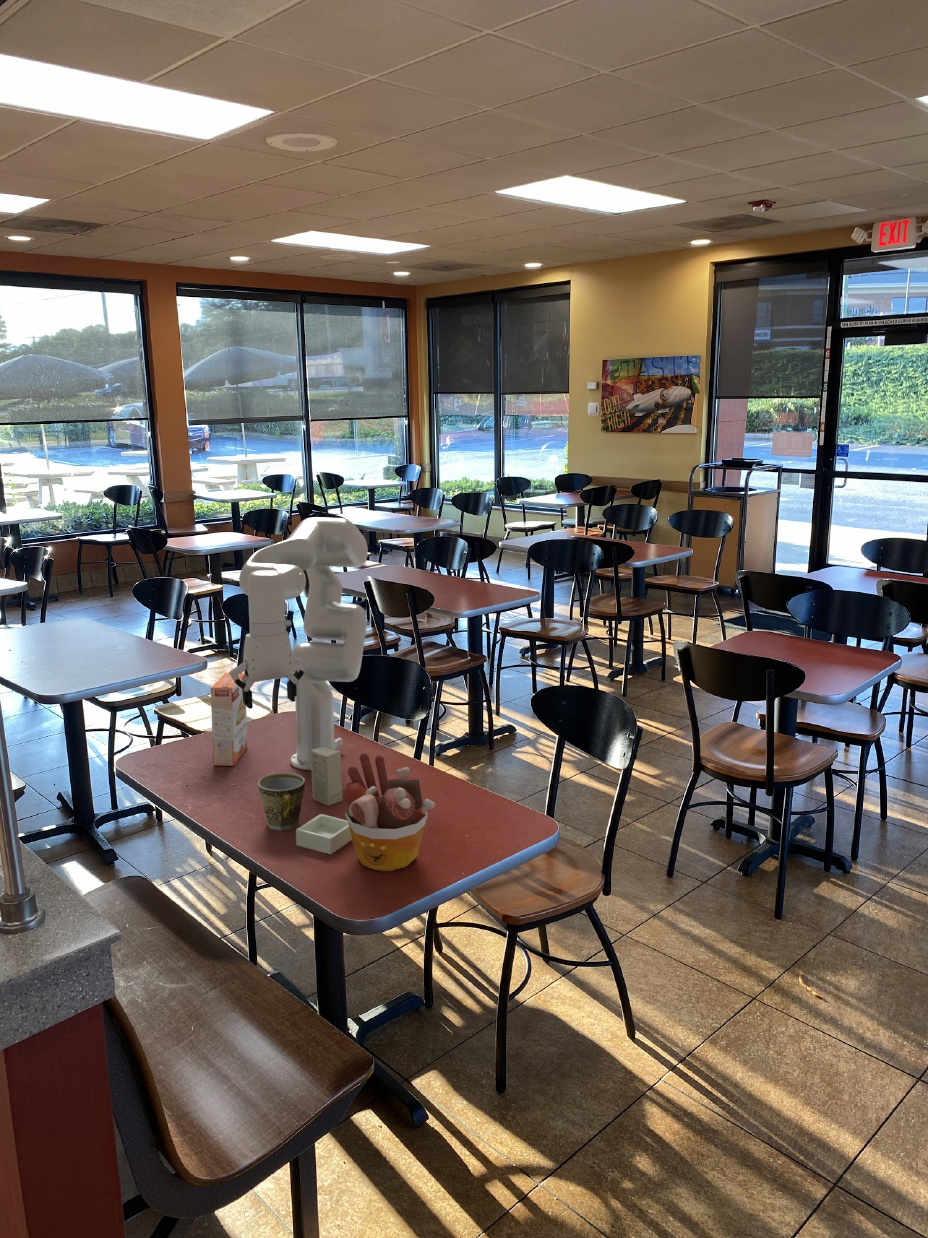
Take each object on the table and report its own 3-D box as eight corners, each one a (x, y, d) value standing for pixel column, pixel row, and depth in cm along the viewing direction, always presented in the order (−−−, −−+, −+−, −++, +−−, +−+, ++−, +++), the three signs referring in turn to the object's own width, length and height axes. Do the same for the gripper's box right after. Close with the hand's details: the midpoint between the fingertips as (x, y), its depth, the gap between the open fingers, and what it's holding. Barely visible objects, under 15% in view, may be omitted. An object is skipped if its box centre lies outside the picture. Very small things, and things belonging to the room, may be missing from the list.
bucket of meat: (446, 868, 184) (447, 774, 179) (373, 890, 175) (372, 791, 171) (396, 830, 200) (396, 743, 196) (327, 848, 191) (325, 758, 187)
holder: (321, 829, 200) (321, 814, 199) (354, 837, 196) (354, 822, 195) (296, 845, 192) (296, 829, 192) (330, 854, 188) (330, 838, 188)
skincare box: (343, 801, 214) (342, 751, 212) (328, 806, 211) (327, 756, 209) (325, 793, 219) (325, 744, 216) (310, 798, 215) (309, 749, 213)
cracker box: (236, 767, 233) (233, 687, 229) (212, 766, 234) (208, 687, 229) (249, 747, 247) (246, 672, 243) (226, 747, 247) (223, 671, 243)
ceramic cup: (255, 818, 204) (254, 776, 202) (300, 811, 208) (299, 770, 206) (267, 843, 193) (266, 798, 191) (314, 835, 197) (313, 792, 195)
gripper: (299, 619, 206) (301, 693, 210) (222, 628, 198) (226, 704, 202) (311, 627, 200) (313, 702, 204) (233, 636, 191) (236, 715, 195)
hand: (270, 703), depth 203 cm, fingers open, 9 cm apart
